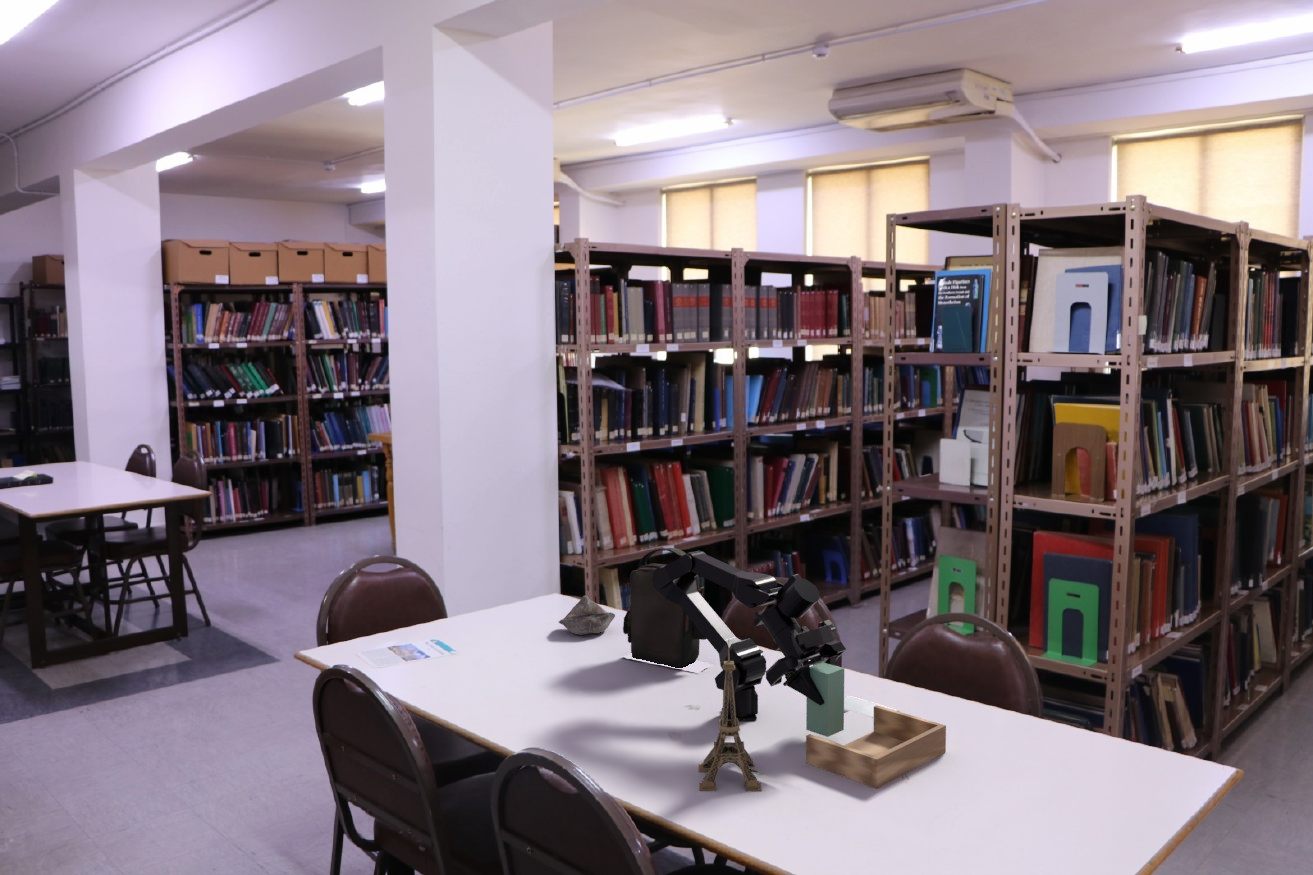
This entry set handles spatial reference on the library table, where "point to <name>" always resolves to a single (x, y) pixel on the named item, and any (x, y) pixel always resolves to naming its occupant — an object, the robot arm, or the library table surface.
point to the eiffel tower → (728, 750)
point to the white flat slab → (861, 706)
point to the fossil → (587, 617)
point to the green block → (826, 700)
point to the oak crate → (880, 749)
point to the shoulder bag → (659, 620)
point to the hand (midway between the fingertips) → (831, 700)
